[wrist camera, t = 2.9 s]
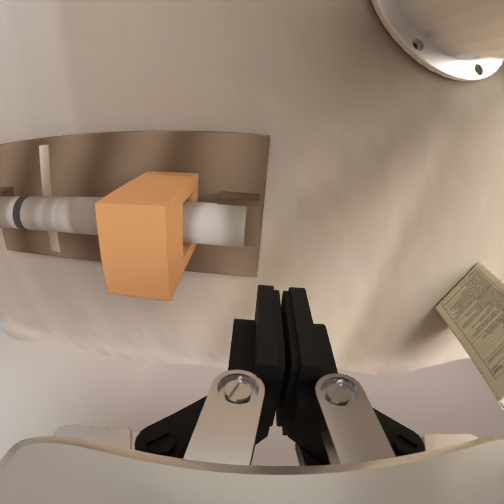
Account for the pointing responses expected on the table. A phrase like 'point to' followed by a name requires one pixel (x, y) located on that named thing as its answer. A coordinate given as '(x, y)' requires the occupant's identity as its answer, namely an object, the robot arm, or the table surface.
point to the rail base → (123, 171)
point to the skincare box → (479, 323)
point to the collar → (146, 234)
